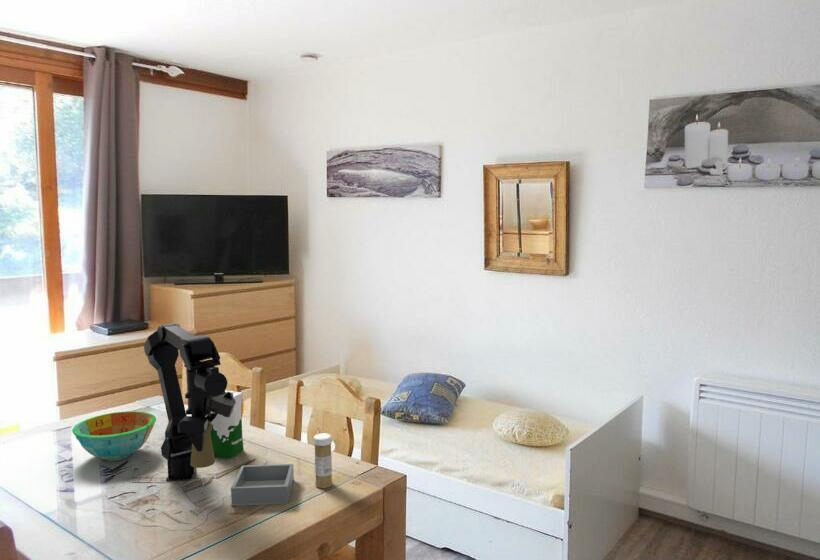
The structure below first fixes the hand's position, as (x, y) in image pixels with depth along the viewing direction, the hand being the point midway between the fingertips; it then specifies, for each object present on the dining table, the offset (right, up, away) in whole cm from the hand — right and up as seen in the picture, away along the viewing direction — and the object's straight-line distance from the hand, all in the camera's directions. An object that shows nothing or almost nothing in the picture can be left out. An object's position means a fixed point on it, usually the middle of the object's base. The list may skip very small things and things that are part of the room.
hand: (202, 447), depth 160 cm
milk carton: (-2, -9, +28) cm, 30 cm away
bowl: (-34, -10, +27) cm, 44 cm away
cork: (0, -4, 0) cm, 4 cm away
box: (+15, -12, +3) cm, 20 cm away
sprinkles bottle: (+30, -12, +7) cm, 33 cm away
